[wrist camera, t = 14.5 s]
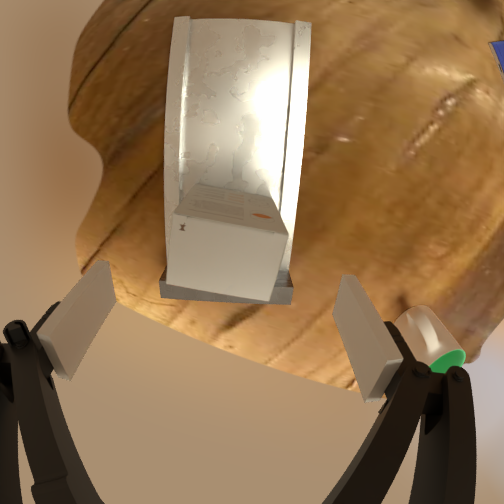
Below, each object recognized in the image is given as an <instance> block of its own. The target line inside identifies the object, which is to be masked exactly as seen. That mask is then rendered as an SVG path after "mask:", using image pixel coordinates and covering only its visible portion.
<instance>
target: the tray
mask: <svg viewBox="0 0 504 504" xmlns="http://www.w3.org/2000/svg"><path fill="white" fill-rule="evenodd" d="M310 42H311V23H309V22H303V21H295V23H294V24H292V23H284V22H276V21H265V20H251V19H191V17H190V16H183V17H175V18H174V25H173V33H172V41H171V49H170V59H169V69H168V81H167V95H166V112H165V137H164V209H165V235H166V253H167V262H168V251H169V241H170V231H171V222H172V213H173V211H174V210H175V209H176V208H177V206H178V205H179V204H180V202H181V201H182V200H183V199H184V197H185V196H186V195H187V194H188V193H189V191H190V190H191V189H192V187H193V186H194V185H195V184H201V185H207V186H212V187H218V188H224V189H229V190H234V191H239V192H245V193H250V194H255V195H260V196H265V197H270V198H273V200H274V202H275V204H276V206H277V209H278V211H279V213H280V215H281V217H282V220H283V222H284V224H285V226H286V229H287V231H288V233H289V238H288V242H287V245H286V248H285V252H284V255H283V259H282V262H281V265H280V269H279V272H278V275H277V279H276V282H275V285H274V288H273V291H272V295H271V298H270V301H269V302H267V301H261V300H254V299H248V298H242V297H236V296H230V295H224V294H218V293H212V292H207V291H201V290H195V289H189V288H184V287H179V286H174V285H168V284H166V275H167V266H166V268H165V270H164V272H163V274H162V276H161V278H160V280H159V285H160V294H161V298H169V299H182V300H197V301H213V302H232V303H254V304H287V305H291V300H292V294H293V284H292V281H291V277H290V274H289V263H290V256H291V248H292V241H293V233H294V225H295V216H296V208H297V199H298V190H299V181H300V172H301V162H302V151H303V141H304V130H305V118H306V105H307V92H308V77H309V61H310Z"/></svg>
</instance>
